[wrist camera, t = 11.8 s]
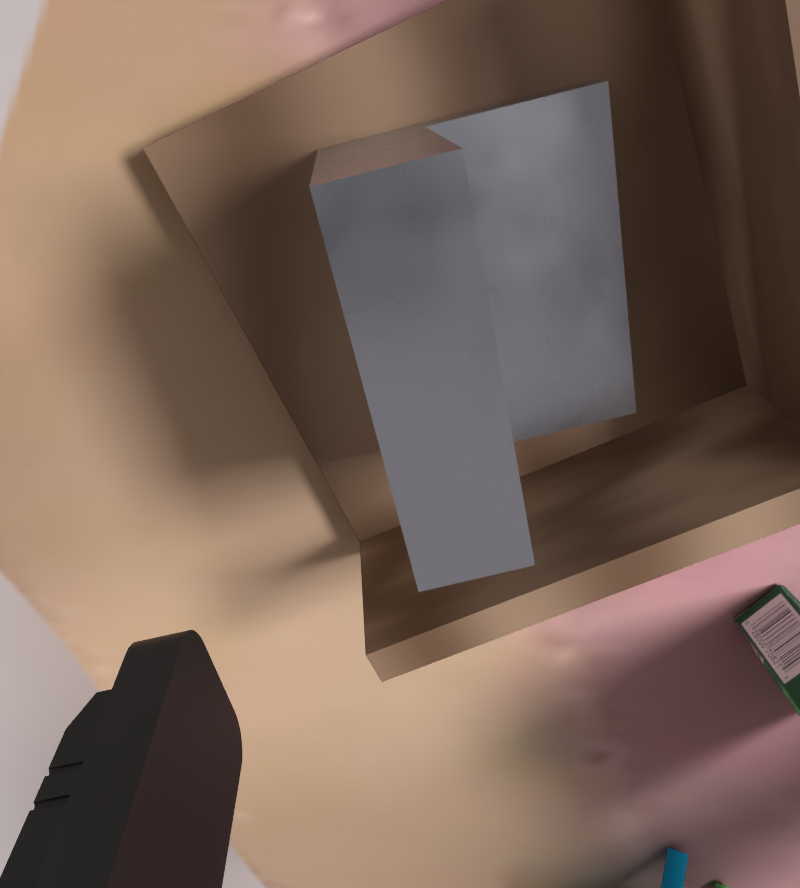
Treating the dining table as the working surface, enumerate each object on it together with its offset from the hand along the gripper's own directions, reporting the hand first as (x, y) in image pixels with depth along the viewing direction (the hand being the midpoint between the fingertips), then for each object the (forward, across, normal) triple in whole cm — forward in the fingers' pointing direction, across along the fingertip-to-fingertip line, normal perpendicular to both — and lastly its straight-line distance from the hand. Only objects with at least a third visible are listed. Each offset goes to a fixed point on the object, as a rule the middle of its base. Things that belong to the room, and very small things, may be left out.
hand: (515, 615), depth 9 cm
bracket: (+16, -2, 0) cm, 16 cm away
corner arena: (+17, -3, 0) cm, 17 cm away
